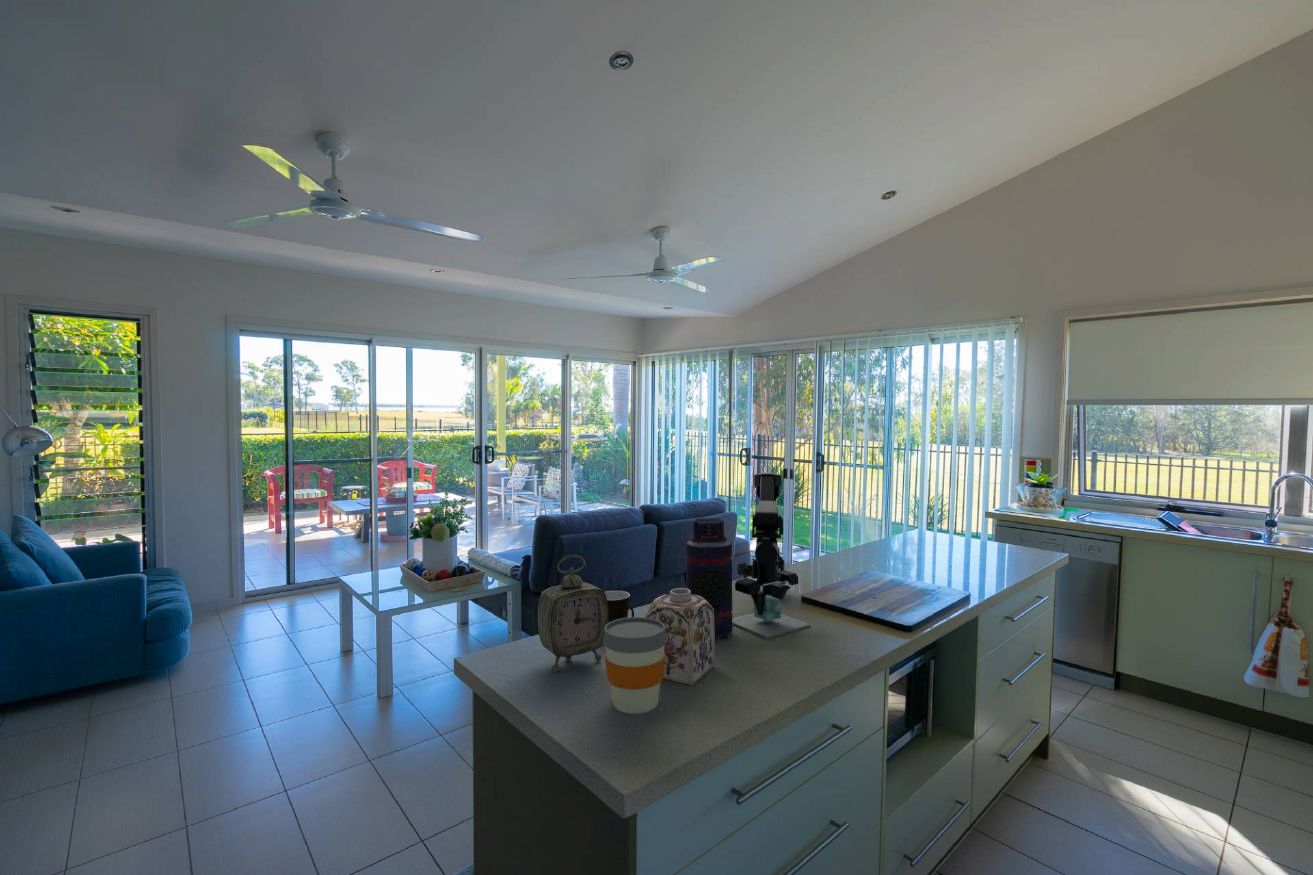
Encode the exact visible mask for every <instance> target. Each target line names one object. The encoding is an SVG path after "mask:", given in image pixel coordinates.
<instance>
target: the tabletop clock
mask: <svg viewBox="0 0 1313 875" xmlns="http://www.w3.org/2000/svg"><path fill="white" fill-rule="evenodd" d="M569 559H580V560H581V562H583V564H582V566H580V567H579V568H577V569H575V568H574V567H572V566H570V568H569V570H568V571H567V570H562V569H561V568H560V567H561V564H562V563H564V561H566V560H569ZM585 566H586V561H585V558H583V556H581V555H578V554H573V555H567V556H564V557H563V558H561V559H560V560H559V561H558V563H557V567H556V568H557V571H558V572H560V574H564V575H565V576H564V577H563V578H562V580H560V581H561V582H560V584H559V585H555V586H551V587H548V588H546V589H544V590H543V591H541V593H540V595H539V599H538V605H537V631H538V636H539V641H540V643H541V645H542V646H543V647H544V648H545V649H546V650H548V651H549V652H551V654H552V655H554V656H556V657H555V664H553V665H552V667H551V670H552V672H553V671H554V673H558V672H559V670H560V665H559V661H560V658H565V660H566V659H567V660H566V661H570V659H571V660H572V657H573V656H578V655H583V654H585V653H589V652H593V654H594V660H596V661H597V662H600V661H601V660H602V658H603V657H602V654H601V653H598V652H597V649H600V648H601V647H602V646H604V644H603V637H604V628H605V626H606V624H608V619H609V615H608V603H607V598H606V594H605V592H606V591H604V590H603V589H601V588H599V587H598V586H595V585H593V584H591V583H588V582H583V579H582V578H581V577H580V576H579V575H577V573H579V572H581V571H582V570H583V569H584V567H585Z"/></svg>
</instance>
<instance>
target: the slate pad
mask: <svg viewBox="0 0 1313 875" xmlns="http://www.w3.org/2000/svg"><path fill="white" fill-rule="evenodd" d="M732 625H733V626H735V627H737V628H740V629H742V630H744V631H745V632H749V633H751V634H754V635H756V636H759V637H761V638H763V639H766V640H769V639H772V637H773V638H775V637H774V636H776V637H779V635H780V636H782V635H781V634H783V635H786V634H788V633H787V632H790V633H792V631H793V632H796V631H795V630H797V631H799V630H803V629H802V628H804V629H807V628H810V627H811V624H810V623H807V622H805V621H802V620H801V619H797V618H794V617H791V616H788V615H785V614H783V613H781V618H778V619H774V620H770V621H765V620H763V619H760V618H757V617H755V616H754V612H752V613H747V614H744V615H739V616H735V617H732ZM809 626H810V627H809ZM806 627H807V628H806ZM785 633H786V634H785Z"/></svg>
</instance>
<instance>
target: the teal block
mask: <svg viewBox="0 0 1313 875" xmlns="http://www.w3.org/2000/svg"><path fill="white" fill-rule="evenodd" d="M781 604H782V601H781V599H778V598H775V597H772V596H771V595H766V599H765V605H764V610H763V614H762V616H761V615H759V614H758V612H757V609H756V606H755V603H754V602H753V606H754V607H753V608H754V609H753V613H754V616H755V617H757V618H760V619H763V620H765V621H770V620H774V619H778V618H781V614H782V612H781Z"/></svg>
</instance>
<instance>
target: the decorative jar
mask: <svg viewBox="0 0 1313 875" xmlns="http://www.w3.org/2000/svg"><path fill="white" fill-rule="evenodd" d="M645 618H652V619H656V620H659V621H661V622H662V623H663V624H664V625H665V630H666V638H667V642H666V644H665V647H664V652H665V654H666V657H665V666H664V675H663V679H662V680H667V681H670V682H675V683H676V682H677V683H680V684H684V685H689V686H693V685H694V684H695V683H696V682H697V681H698V680H700V679H701V678H702V677H703V676H704V675H706V674H707V673H708V672H709V671H710V670H712V668H714V667H715V664H716V663H715V662H716V660H715V659H716V655H715V654H716V649H715V647H716V645H715V644H716V643H715V641H716V640H715V638H716V637H715V629H714V609H713V608H712V606H711V605H710V604H709V602H708V601H706V600H705V599H704V598H703V597H701V596H698V595H692V594H691V591H690V590H689V589H686V588H685V587H680V588H679V587H677V588H676V587H675V588H673V589H671V590H670V591H669V593H667V594H663V595H661V596H658V597H656V598H655V599H654V600H653V601H652V603H651V605H650V607H649V608H648V609H647V612H646V614H645Z"/></svg>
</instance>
